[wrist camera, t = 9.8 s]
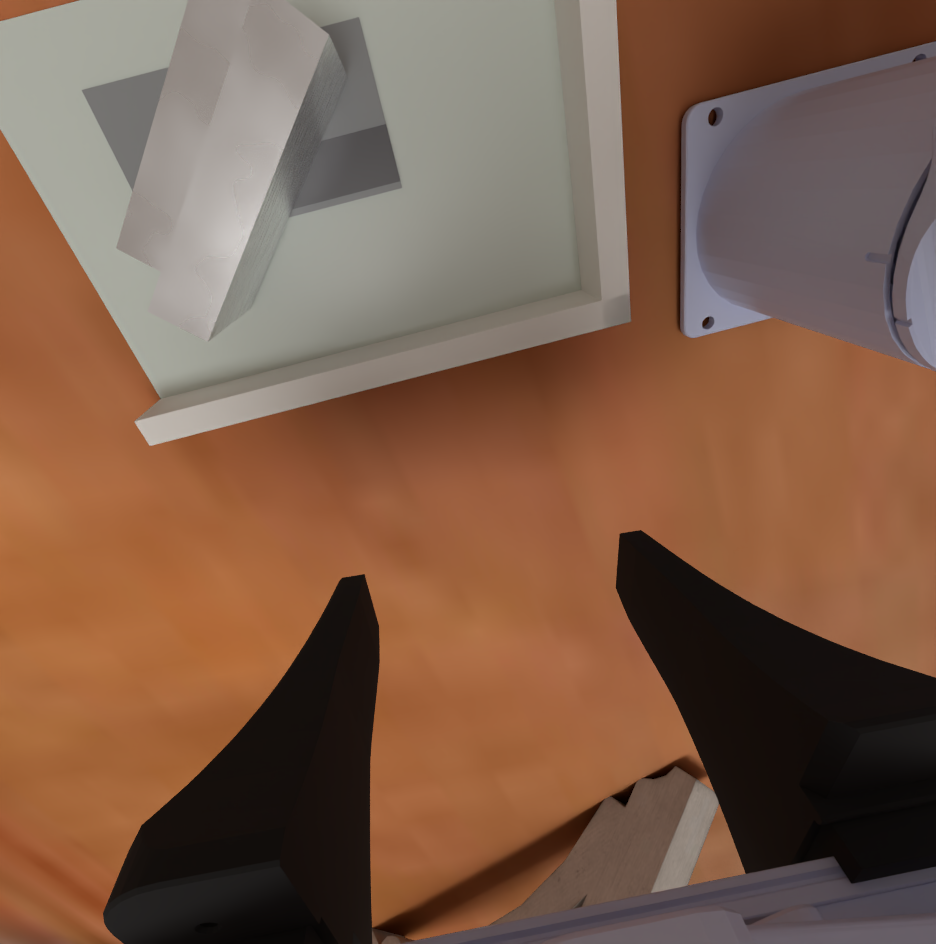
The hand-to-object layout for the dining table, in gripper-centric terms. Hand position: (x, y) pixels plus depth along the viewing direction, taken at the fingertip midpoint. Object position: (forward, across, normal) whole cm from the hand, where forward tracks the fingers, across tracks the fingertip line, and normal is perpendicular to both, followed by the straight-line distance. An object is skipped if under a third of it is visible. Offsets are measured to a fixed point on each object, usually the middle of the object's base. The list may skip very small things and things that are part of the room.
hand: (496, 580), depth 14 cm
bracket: (+9, +6, -11) cm, 15 cm away
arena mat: (+9, +3, -10) cm, 14 cm away
